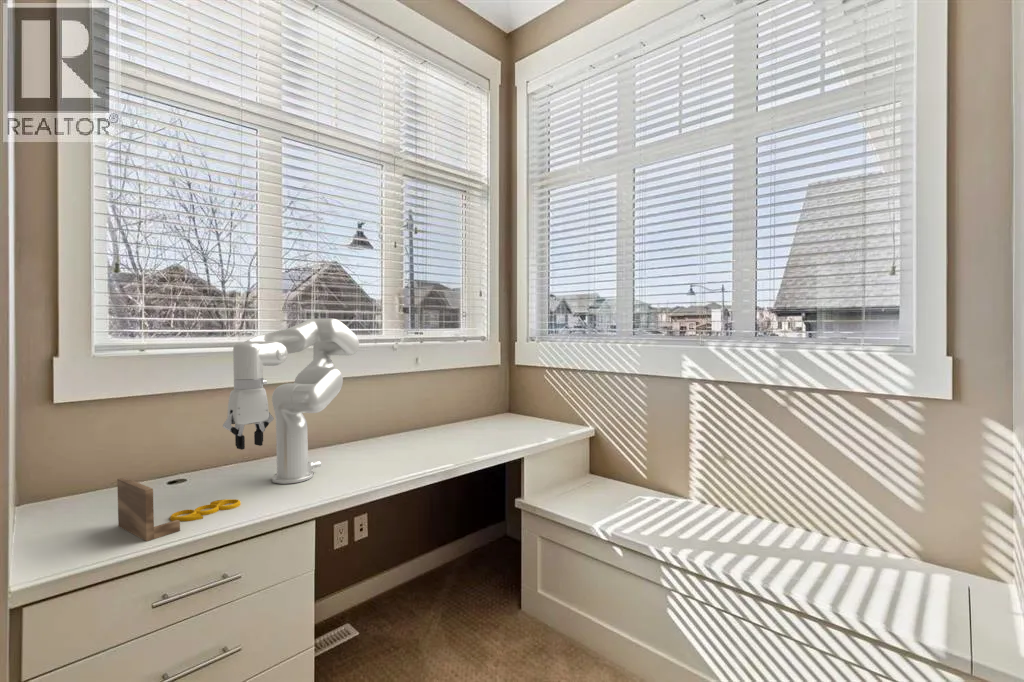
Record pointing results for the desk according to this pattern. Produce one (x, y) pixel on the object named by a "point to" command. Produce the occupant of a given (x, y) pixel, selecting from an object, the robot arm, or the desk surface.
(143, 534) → the display stand
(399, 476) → the desk surface
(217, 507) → the yellow triple ring ornament
